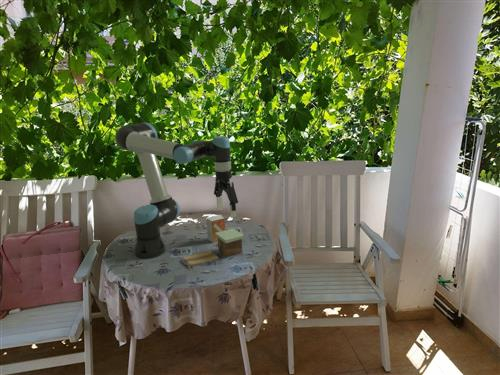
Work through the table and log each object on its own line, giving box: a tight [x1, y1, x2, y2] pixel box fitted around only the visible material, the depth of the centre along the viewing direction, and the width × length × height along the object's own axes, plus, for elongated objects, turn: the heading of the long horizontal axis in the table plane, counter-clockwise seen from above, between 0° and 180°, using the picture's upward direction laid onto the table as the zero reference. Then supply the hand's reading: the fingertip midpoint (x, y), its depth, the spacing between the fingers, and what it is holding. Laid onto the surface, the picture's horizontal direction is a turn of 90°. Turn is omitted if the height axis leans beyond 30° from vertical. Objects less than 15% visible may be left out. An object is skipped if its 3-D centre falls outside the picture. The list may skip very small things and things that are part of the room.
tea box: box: [217, 238, 243, 258], centre depth 191 cm, size 8×9×9 cm
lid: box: [215, 228, 245, 243], centre depth 190 cm, size 11×10×3 cm
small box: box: [205, 214, 226, 244], centre depth 207 cm, size 8×6×13 cm
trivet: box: [182, 249, 219, 269], centre depth 187 cm, size 10×14×2 cm
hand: (226, 213), depth 186 cm, fingers open, 13 cm apart
